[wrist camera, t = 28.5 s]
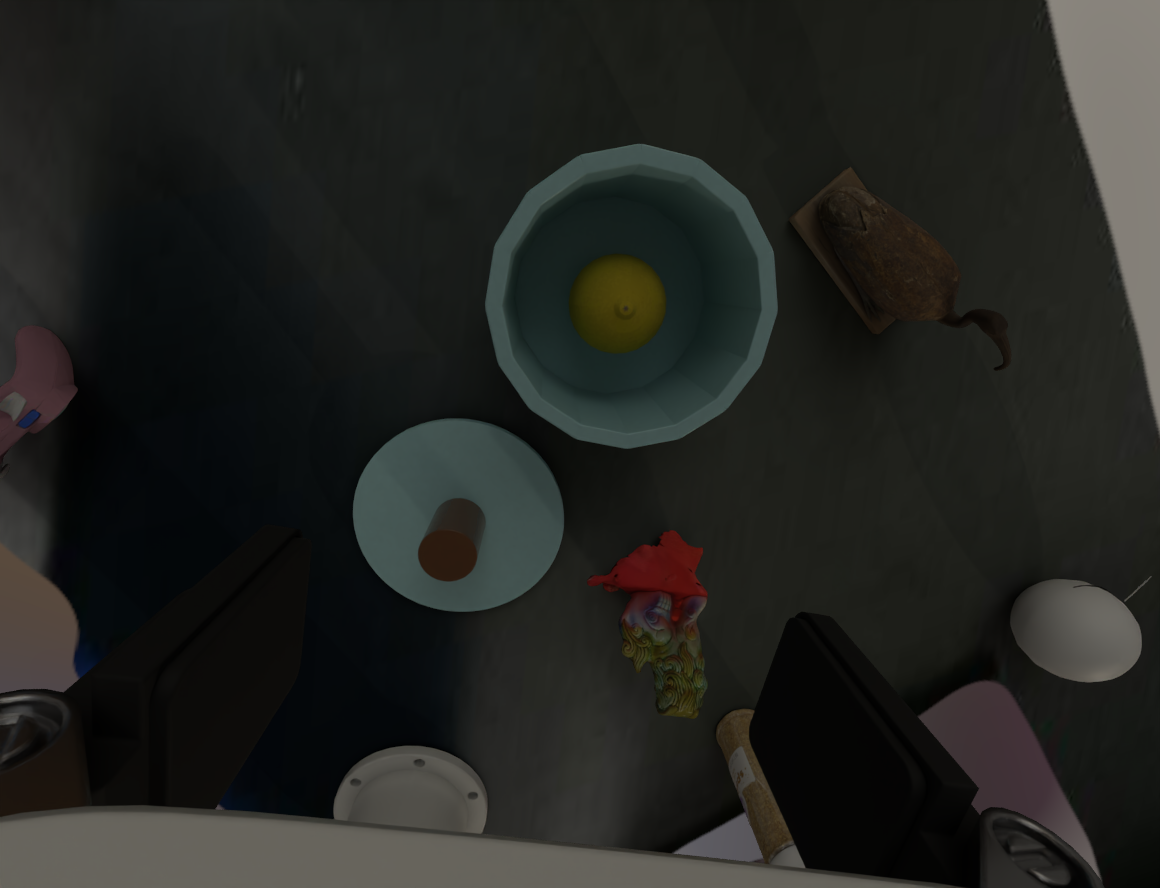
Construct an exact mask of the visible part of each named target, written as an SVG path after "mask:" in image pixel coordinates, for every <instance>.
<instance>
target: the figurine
mask: <svg viewBox="0 0 1160 888" xmlns="http://www.w3.org/2000/svg"><path fill="white" fill-rule="evenodd" d="M789 221H790V222H791V224H792V225H793V226H794V228H795V229H796V230H797V232H798V233H799V234H800V236H801V237H802V239H803V240H804V241H805V243H806V244H807V245H808V247H809V248H810V249H811V251H812V252H813V254H814V255H815V256H816V258H817V259H818V260H819V261H820V263H821V264H822V266H823V267H824V268H825V270H826V271H827V272H828V274H829V275H830V276H831V278H832V279H833V281H834V282H835V283H836V285H837V286H838V288H839V289H840V290H841V292H842V293H843V294H844V296H845V297H846V298H847V300H848V301H849V302H850V304H851V305H852V306H853V308H854V309H855V310H856V312H857V313H858V314H859V316H860V317H861V319H862V320H863V321H864V323H865V324H866V326H867V327H868V328H869V330H870V331H871V333H873V334H880V333H881V332H882V331H883V330H884V329H885V328H886V327H888V326H889V325H890V324H891V323H892V322H893V321H894V320H896V319H898V320H901V321H926V320H936V321H938V322H940V323H942V324H944V325H947V326H951V327H955V328H963V327H966V326H968V325H970V324H971V323H972V322H974V323H976V324H977V325H978V326H979V327H980V329H981V330H982V331H983V332H985V333H986V334H987V335H988V336H989V337H990V338H991V339H992V340H993V341H994V342H995V343H996V345H997V346H998V348H999V349H1000V351H1001V353H1002V356H1003V361H1004V362H1003V364H1002V365H1001V366H998V367H995V368H994V370H995V371H998V370H1002V369H1004V368H1006V367H1008V366H1009V364H1010V362H1011V349H1010V345H1009V341H1008V338H1007V334H1006V330H1007V327H1008V324H1007V321H1006V320H1005V318H1004V317H1003V316H1002V315H1001V314H999V313H997V312H994V311H991V310H985V309H975V310H972V311H969V312H968V313H966V314H965V315H964V316H963V317H960V316H959V315H957V314H956V313H955V312H954V311H953V309H954V306H955V301H956V296H957V293H958V288H959V283H960V280H961V273H960V271H959V269H958V267H957V265H956V264H955V262H954V261H953V259H952V258H951V256H950V255H949V254H948V253H947V251H946V250H945V249H944V248H943V247H942V245H941V244H940V243H939V242H938V241H937V240H936V239H935V238H933V237H932V236H931V235H930V234H929V233H928V232H926V231H925V230H924V229H923V228H921V227H920V226H918V225H917V224H916V223H914V222H913V221H912V220H911V219H909V218H908V217H906V216H905V215H903V214H902V213H900V212H899V211H897V210H896V209H894V208H893V207H892V206H890V205H889V204H887V203H886V202H885V201H883V200H882V199H880V198H879V197H877V196H875V195H874V194H872V193H870V192H868V191H867V189H866V188H865V187H864V185H863V184H862V182H861V181H860V179H859V178H858V176H857V175H856V174H855V172H854V171H853V169H852V168H848V169H846V170H844V171H843V172H842V173H840V174H839V175H838V176H837V177H836V178H835V179H834V180H832V181H831V182H830V183H829V184H828V185H827V186H826V187H825V188H823V189H822V190H821V191H820V192H819V193H818V194H817V195H815V196H814V197H813V198H812V199H811V200H810V201H809V202H807V203H806V204H805V205H804V206H803V207H802V208H801V209H799V210H798V211H797V212H796V213H795V214H794V215H793V216H792V217H790V218H789Z"/></svg>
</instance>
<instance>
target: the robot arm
mask: <svg viewBox="0 0 1160 888" xmlns="http://www.w3.org/2000/svg"><path fill="white" fill-rule="evenodd" d="M310 557H311V541H310V539H304V538H303V535H302V532H301V530H299V529H293V528H286V527H280V526H274V525H265V526H263V527H262V528H261V529H260V530H259V531H257V532H256V533H255V534H254V535H253V536H252V537H250V538H249V539H248V540H247V541H246V542H245V543H244V544H242V545H241V546H240V547H239V548H238V549H237V550H235V551H234V552H233V553H232V554H231V555H230V556H228V557H227V558H226V559H225V560H224V561H223V562H221V563H220V564H219V565H218V566H217V567H216V568H214V569H213V570H212V571H211V572H210V573H209V574H207V575H206V576H205V577H204V578H203V579H202V580H200V581H199V582H198V583H197V584H196V585H195V586H194V587H192V588H191V589H188V590H185V591H184V592H182V593H181V594H179V595H178V596H177V597H176V598H174V599H173V600H172V601H171V602H170V603H168V604H167V605H166V606H165V607H164V608H163V609H161V610H160V611H159V612H158V613H157V614H155V615H154V616H153V617H152V618H151V619H150V620H148V621H147V622H146V623H145V624H144V625H143V626H141V627H140V628H139V629H138V630H137V631H135V632H134V633H133V634H132V635H131V636H130V637H128V638H127V639H126V640H125V641H124V642H122V643H121V644H120V645H119V646H118V647H117V648H115V649H114V650H113V651H112V652H111V653H109V654H108V655H107V656H106V657H105V658H104V659H102V660H101V661H100V662H99V663H98V664H97V665H95V666H94V667H93V668H92V669H91V670H89V671H88V672H87V673H86V674H85V675H84V676H82V677H81V678H80V679H79V680H78V681H77V682H75V683H74V684H73V685H72V686H71V687H69V688H68V689H67V690H66V691H65V692H64V693H63V692H58V691H53V690H48V689H23V690H16V691H11V692H5V693H0V888H1104V887H1103V885H1102V882H1101V880H1100V878H1099V877H1098V876H1097V874H1096V873H1095V872H1094V870H1093V869H1092V868H1091V866H1090V865H1089V864H1088V863H1087V862H1086V861H1085V860H1084V859H1083V858H1082V857H1081V856H1080V855H1079V854H1078V853H1077V852H1076V851H1075V850H1074V849H1073V848H1072V847H1071V846H1070V845H1069V844H1067V843H1066V842H1065V841H1063V840H1062V839H1061V838H1060V837H1059V836H1057V835H1056V834H1055V833H1053V832H1052V831H1050V830H1049V829H1047V828H1046V827H1044V826H1042V825H1041V824H1039V823H1038V822H1036V821H1034V820H1032V819H1030V818H1028V817H1026V816H1024V815H1022V814H1020V813H1018V812H1015V811H1011V810H1008V809H1005V808H997V807H996V808H995V807H990V808H988V809H986V810H984V811H982V813H981V815H979V813H978V812H977V811H976V810H975V808H974V807H973V806H972V805H971V803H972V801H973V799H974V797H975V795H976V793H977V791H978V789H979V788H978V787H977V786H976V784H975V783H974V782H973V781H972V780H971V779H970V777H969V776H968V775H967V774H966V773H965V772H964V770H963V769H962V768H961V767H960V766H959V765H958V763H957V762H956V761H955V760H954V759H953V758H952V756H951V755H950V754H949V753H948V752H947V751H946V749H945V748H944V747H943V746H942V745H941V744H940V743H939V741H938V740H937V739H936V738H935V737H934V736H933V734H932V733H931V732H930V731H929V730H928V729H927V727H926V726H925V725H924V724H923V723H922V721H921V720H920V719H919V718H918V717H917V716H916V715H915V713H914V712H913V711H912V710H911V709H910V708H909V706H908V705H907V704H906V703H905V702H904V701H903V699H902V698H901V697H900V696H899V695H898V694H897V692H896V691H895V690H894V689H893V688H892V687H891V685H890V684H889V683H888V682H887V681H886V680H885V678H884V677H883V676H882V675H881V674H880V673H879V672H878V670H877V669H876V668H875V667H874V666H873V665H872V663H871V662H870V661H869V660H868V659H867V658H866V656H865V655H864V654H863V653H862V652H861V651H860V649H859V648H858V647H857V646H856V645H855V644H854V642H853V641H852V640H851V639H850V638H849V637H848V635H847V634H846V633H845V632H844V631H843V630H842V628H841V627H840V626H839V625H838V624H837V623H836V622H835V620H834V619H833V618H831V617H830V616H825V615H819V614H813V613H807V612H800V613H798V614H797V615H796V616H795V618H790V619H789V620H788V621H787V623H786V626H785V628H784V631H783V634H782V637H781V639H780V642H779V645H778V648H777V650H776V653H775V656H774V659H773V661H772V664H771V667H770V670H769V672H768V675H767V678H766V681H765V683H764V686H763V689H762V692H761V695H760V697H759V700H758V703H757V706H756V708H755V711H754V714H753V717H752V719H751V722H750V726H749V740H750V744H751V747H752V749H753V751H754V754H755V756H756V758H757V760H758V763H759V765H760V767H761V769H762V772H763V774H764V776H765V778H766V781H767V783H768V785H769V787H770V790H771V792H772V794H773V796H774V798H775V801H776V803H777V805H778V807H779V810H780V812H781V814H782V816H783V819H784V821H785V823H786V825H787V828H788V830H789V832H790V834H791V837H792V839H793V841H794V843H795V846H796V848H797V850H798V852H799V855H800V857H801V859H802V861H803V864H804V866H805V868H799V867H790V866H781V865H772V864H763V863H754V862H745V861H736V860H727V859H718V858H709V857H699V856H690V855H681V854H671V853H662V852H652V851H643V850H633V849H624V848H614V847H605V846H595V845H586V844H576V843H566V842H557V841H547V840H537V839H528V838H518V837H508V836H498V835H488V834H481V833H482V831H483V828H484V826H485V823H486V817H487V809H488V800H487V794H486V790H485V787H484V785H483V783H482V781H481V779H480V778H479V776H478V775H477V774H476V773H475V771H474V770H473V769H472V768H471V767H470V766H469V765H467V764H466V763H465V762H463V761H462V760H461V759H459V758H457V757H455V756H453V755H451V754H449V753H447V752H444V751H441V750H438V749H435V748H430V747H423V746H399V747H392V748H388V749H384V750H381V751H378V752H375V753H373V754H371V755H369V756H367V757H365V758H363V759H362V760H361V761H359V762H358V763H357V764H356V765H354V766H353V767H352V768H351V769H350V771H349V772H348V773H347V774H346V775H345V777H344V779H343V781H342V783H341V784H340V787H339V789H338V792H337V795H336V797H335V801H334V809H333V812H334V819H324V818H314V817H303V816H292V815H282V814H271V813H260V812H250V811H233V810H216V809H215V808H216V807H217V805H218V804H219V802H220V800H221V799H222V797H223V796H224V794H225V792H226V791H227V789H228V788H229V786H230V785H231V783H232V781H233V780H234V778H235V777H236V775H237V773H238V772H239V770H240V769H241V767H242V765H243V764H244V762H245V761H246V759H247V758H248V756H249V754H250V753H251V751H252V750H253V748H254V746H255V745H256V743H257V742H258V740H259V738H260V737H261V735H262V734H263V732H264V730H265V729H266V727H267V726H268V724H269V723H270V721H271V719H272V718H273V716H274V715H275V713H276V711H277V710H278V708H279V707H280V705H281V703H282V702H283V700H284V699H285V697H286V695H287V694H288V692H289V691H290V689H291V688H292V686H293V684H294V682H295V680H296V678H297V675H298V672H299V668H300V663H301V653H302V642H303V632H304V621H305V611H306V600H307V589H308V579H309V568H310Z"/></svg>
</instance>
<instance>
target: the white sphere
mask: <svg viewBox="0 0 1160 888" xmlns="http://www.w3.org/2000/svg"><path fill="white" fill-rule="evenodd" d="M1151 577H1152V576H1150V577H1149V578H1148V579H1147V580H1146V581H1145V582H1144V583H1143V584H1142V585H1141V586H1140V587H1142V586H1143V585H1144V584H1145V583H1146V582H1147V581H1148V580H1149V579H1150V578H1151ZM1140 587H1138V588H1137V589H1136V590H1135V591H1134V592H1133V593H1132V594H1131V595H1130V596H1129V597H1128V598H1126V599H1125V600H1124V601H1126V600H1127V599H1129V598H1130V597H1131V596H1132V595H1133V594H1134V593H1135V592H1136V591H1137V590H1138V589H1139V588H1140ZM1010 626H1011V629H1012V632H1013V634H1014V637H1015V639H1016V642H1017V644H1018V646H1019V647H1020V648H1021V649H1022V650H1023V651H1024V652H1025V653H1026V654H1027V655H1028V656H1029V657H1030V658H1031V660H1032V661H1033V662H1034V663H1035V664H1037V665H1038V666H1040V667H1042V668H1044V669H1045V670H1047V671H1049V672H1050V673H1053V674H1055V675H1057V676H1059V677H1062V678H1066V679H1070V680H1074V681H1080V682H1097V681H1105V680H1110V679H1114V678H1116V677H1118V676H1121V675H1122V674H1124V673H1125V672H1126V671H1128V670H1129V669H1130V668H1131V667H1132V666H1133V665H1134V664H1135V663H1136V661H1137V659H1138V657H1139V655H1140V653H1141V647H1142V642H1141V632H1140V628H1139V625H1138V623H1137V621H1136V620H1135V618H1134V617H1133V615H1132V613H1131V612H1130V611H1129V609H1128V608H1127V607H1126V606H1125V605H1124V603H1122V602H1121V601H1120V600H1118V599H1117V598H1116V597H1115V596H1114V595H1113V594H1112V593H1111V592H1109V591H1108V590H1106V589H1104V588H1102V587H1098V586H1094V585H1091V584H1089V583H1086V582H1084V581H1076V580H1065V579H1052V580H1047V581H1043V582H1040V583H1037V584H1035V585H1033V586H1031V587H1028V588H1027V589H1026V590H1024V591H1023V592H1022V593H1021V594H1020V595H1019V596H1018V597H1017V599H1016V600H1015V602H1014V605H1013V607H1012V611H1011V617H1010Z"/></svg>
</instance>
